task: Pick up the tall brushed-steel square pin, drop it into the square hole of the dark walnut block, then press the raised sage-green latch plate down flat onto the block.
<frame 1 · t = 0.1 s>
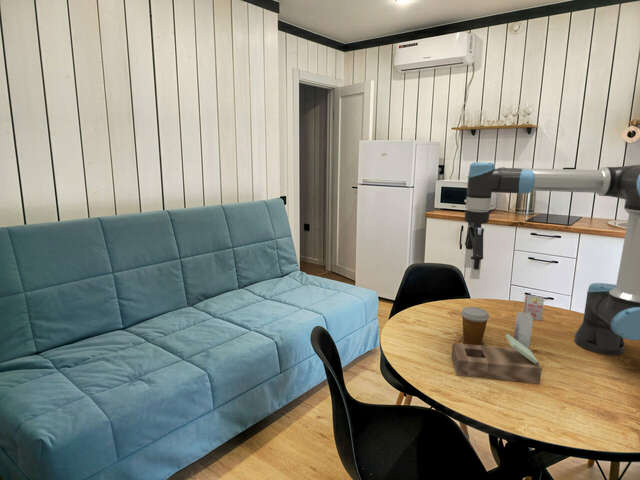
hand: (471, 272, 140), 28 cm above the table, tool pointing down, fingers open, 13 cm apart
tea bag: (531, 318, 174), on the table
steel pin: (520, 352, 144), on the table
latch plate: (522, 349, 129), point 8 cm above the table, hinge at 34.0°, touching walnut block
disposable coffee cup: (472, 342, 151), on the table
walnut block: (492, 369, 132), on the table
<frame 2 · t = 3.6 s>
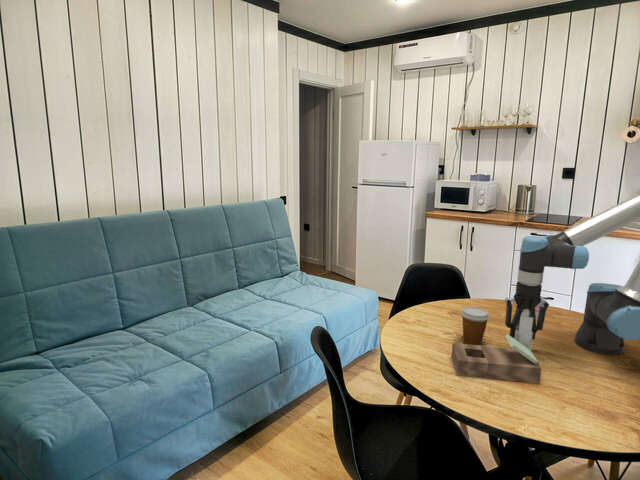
hand: (520, 346, 143), 2 cm above the table, tool pointing down, fingers closed on steel pin, 4 cm apart
steel pin: (520, 352, 144), on the table, touching gripper
latch plate: (521, 349, 129), point 8 cm above the table, hinge at 33.1°
everything else where it was.
when the fingers open (6 cm above the table, at t = 9.6 s): steel pin drops 4 cm, resting in walnut block.
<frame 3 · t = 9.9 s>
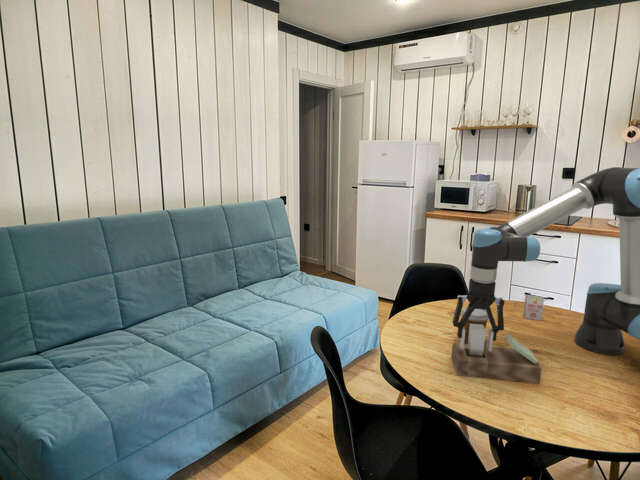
hand: (475, 348, 132), 7 cm above the table, tool pointing down, fingers open, 8 cm apart
steel pin: (473, 367, 133), resting in walnut block
everything else where it was.
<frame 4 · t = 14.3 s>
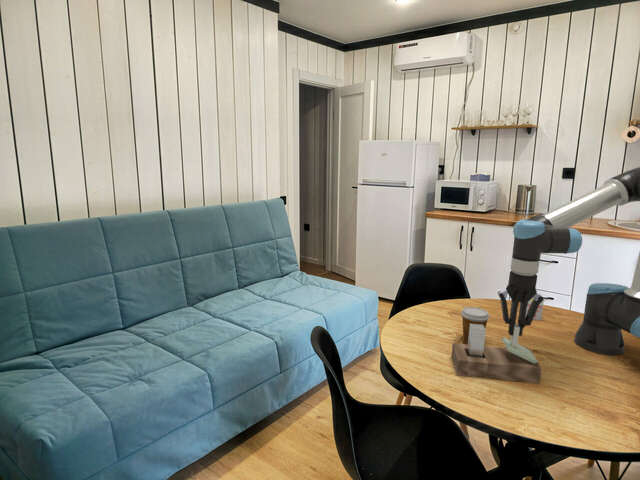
hand: (513, 344, 129), 9 cm above the table, tool pointing down, fingers closed
latch plate: (520, 350, 129), point 7 cm above the table, hinge at 22.9°, touching gripper
everything else where it was.
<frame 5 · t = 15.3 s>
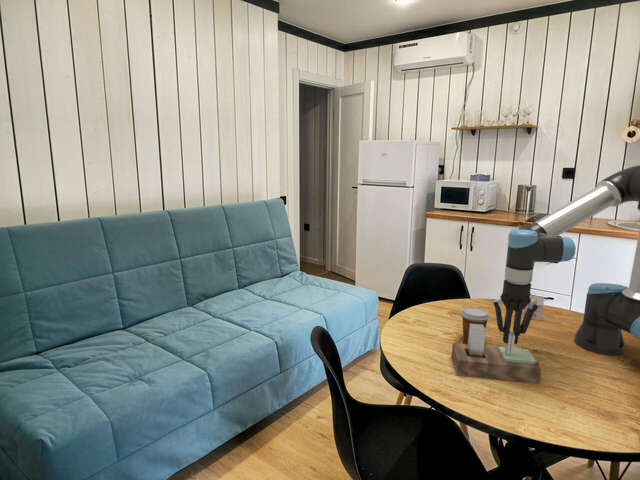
hand: (508, 352, 130), 6 cm above the table, tool pointing down, fingers closed
latch plate: (517, 355, 130), point 6 cm above the table, hinge at -0.3°, touching gripper
everything else where it was.
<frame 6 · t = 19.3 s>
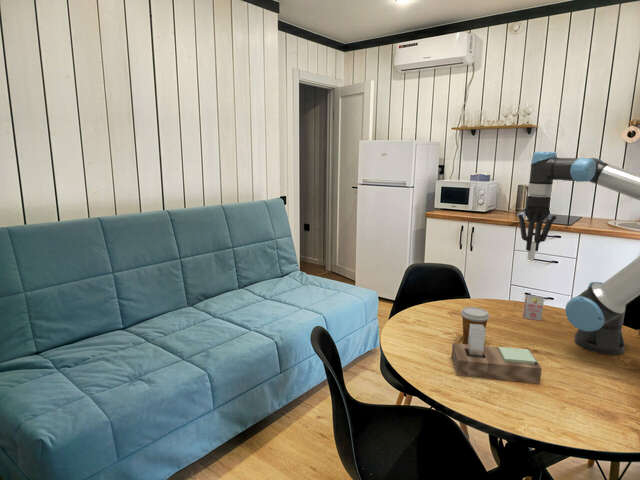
hand: (530, 259, 153), 29 cm above the table, tool pointing down, fingers closed
latch plate: (517, 355, 130), point 6 cm above the table, hinge at -0.5°
everything else where it was.
at the end: steel pin 0.1 cm from the target spot on the walnut block, point 0.0 cm above the walnut block's base; steel pin tilted 0°; latch plate at +0° (first picture: +35°) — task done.
